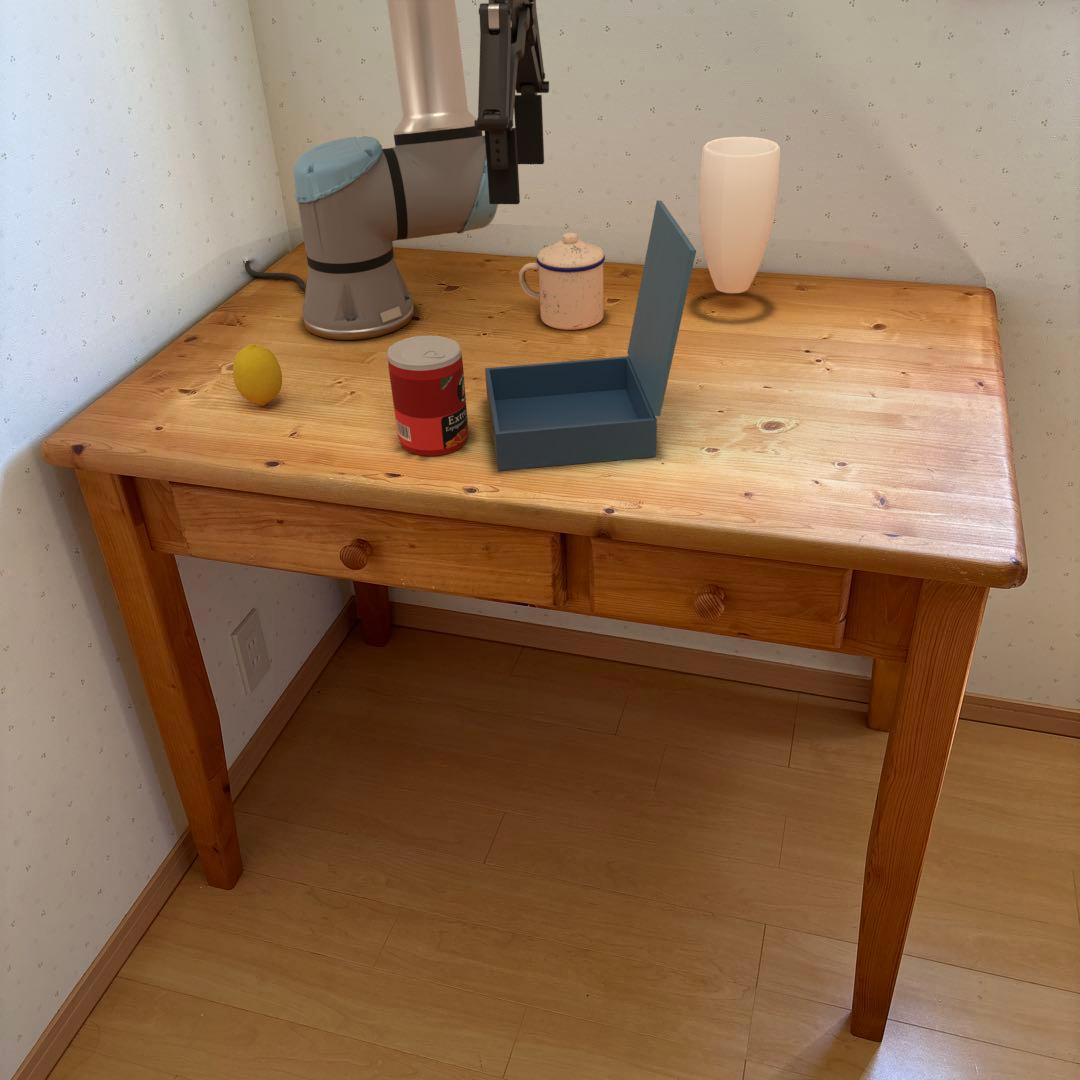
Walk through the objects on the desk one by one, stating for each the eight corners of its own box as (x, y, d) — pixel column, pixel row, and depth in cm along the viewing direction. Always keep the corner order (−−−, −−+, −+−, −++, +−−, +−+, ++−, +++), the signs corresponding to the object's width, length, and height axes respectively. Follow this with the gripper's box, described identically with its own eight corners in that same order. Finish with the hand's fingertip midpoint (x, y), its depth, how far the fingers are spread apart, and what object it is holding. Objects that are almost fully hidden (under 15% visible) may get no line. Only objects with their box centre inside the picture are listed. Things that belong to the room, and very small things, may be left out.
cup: (780, 301, 146) (795, 140, 134) (750, 327, 139) (764, 160, 127) (711, 288, 151) (720, 132, 138) (679, 313, 144) (685, 151, 131)
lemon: (247, 420, 123) (233, 357, 118) (235, 402, 127) (221, 340, 122) (293, 409, 125) (280, 346, 120) (280, 391, 129) (268, 330, 124)
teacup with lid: (613, 308, 146) (613, 225, 139) (594, 334, 139) (593, 248, 132) (532, 301, 150) (528, 219, 143) (509, 325, 143) (504, 241, 136)
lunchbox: (498, 471, 111) (495, 433, 108) (487, 402, 124) (484, 368, 122) (656, 456, 112) (657, 419, 110) (629, 390, 125) (629, 355, 123)
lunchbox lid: (690, 249, 100) (696, 250, 100) (656, 200, 113) (662, 200, 113) (654, 416, 109) (659, 416, 109) (627, 352, 122) (632, 353, 123)
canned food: (459, 460, 113) (450, 366, 107) (389, 455, 115) (376, 362, 108) (477, 426, 119) (469, 336, 113) (410, 421, 121) (399, 332, 115)
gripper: (521, -57, 79) (534, 222, 91) (569, -83, 99) (574, 149, 111) (425, -54, 80) (450, 221, 92) (492, -80, 101) (505, 149, 113)
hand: (518, 182), depth 102 cm, fingers open, 13 cm apart
